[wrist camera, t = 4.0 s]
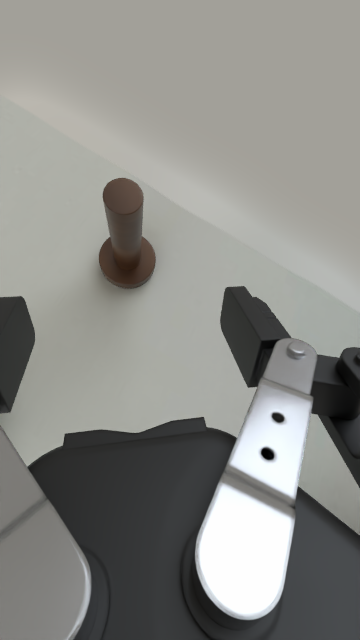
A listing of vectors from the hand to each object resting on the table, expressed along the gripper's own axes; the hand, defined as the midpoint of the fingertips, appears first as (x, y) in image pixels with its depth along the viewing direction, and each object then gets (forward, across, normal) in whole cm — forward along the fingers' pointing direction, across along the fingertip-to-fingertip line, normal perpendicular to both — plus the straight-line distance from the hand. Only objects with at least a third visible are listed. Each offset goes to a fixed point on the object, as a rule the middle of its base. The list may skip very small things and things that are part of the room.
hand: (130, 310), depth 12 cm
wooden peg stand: (+14, 0, +5) cm, 15 cm away
